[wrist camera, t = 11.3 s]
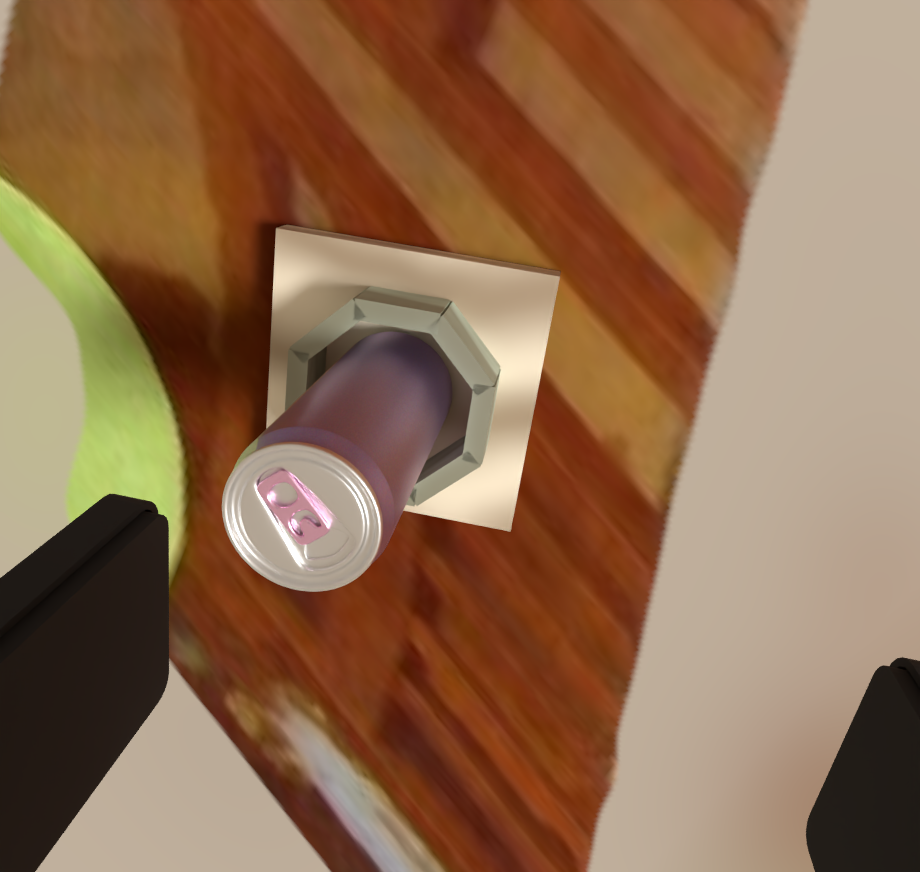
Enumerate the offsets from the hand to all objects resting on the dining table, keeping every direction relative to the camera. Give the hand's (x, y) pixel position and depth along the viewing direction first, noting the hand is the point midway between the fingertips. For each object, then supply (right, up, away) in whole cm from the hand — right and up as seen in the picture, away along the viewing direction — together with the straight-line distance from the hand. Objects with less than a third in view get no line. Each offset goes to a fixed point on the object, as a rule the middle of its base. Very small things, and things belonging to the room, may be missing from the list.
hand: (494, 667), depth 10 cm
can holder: (-3, +6, +31) cm, 32 cm away
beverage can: (-4, +6, +30) cm, 30 cm away
